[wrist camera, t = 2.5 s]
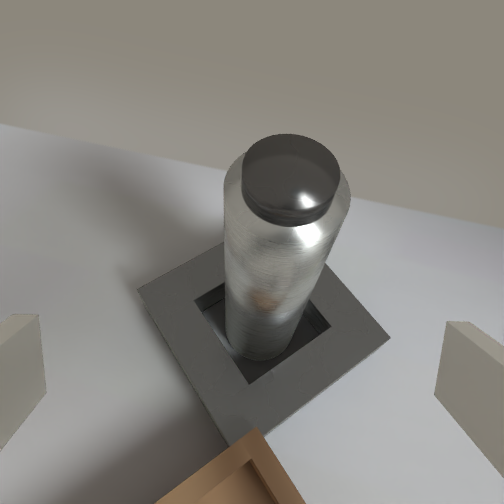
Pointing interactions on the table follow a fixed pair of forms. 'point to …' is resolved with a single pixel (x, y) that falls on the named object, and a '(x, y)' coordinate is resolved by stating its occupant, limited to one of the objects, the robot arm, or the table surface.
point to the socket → (278, 378)
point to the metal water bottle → (277, 237)
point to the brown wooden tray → (238, 478)
